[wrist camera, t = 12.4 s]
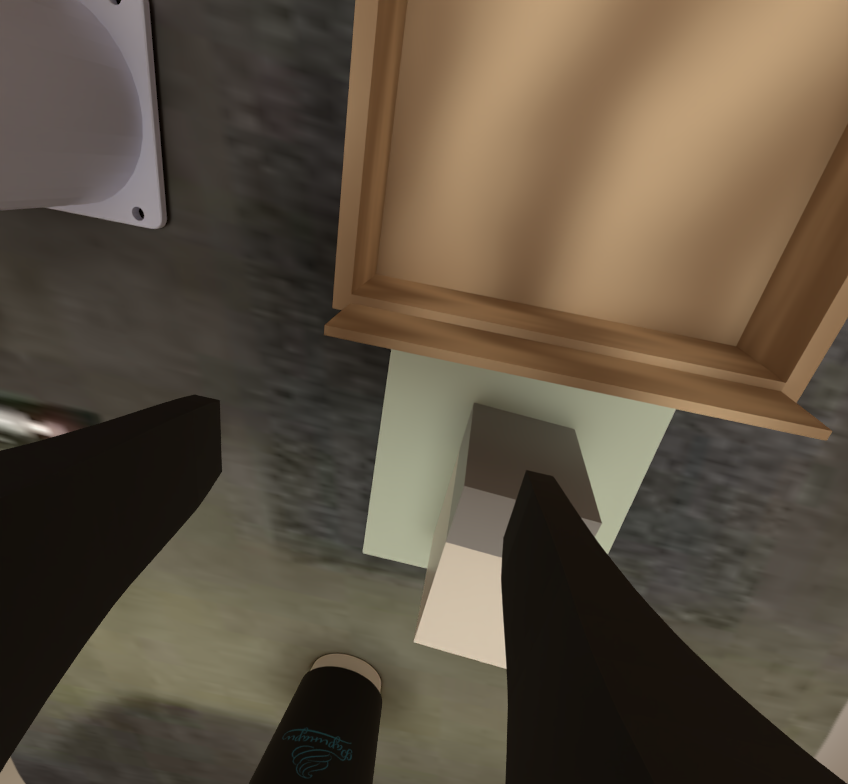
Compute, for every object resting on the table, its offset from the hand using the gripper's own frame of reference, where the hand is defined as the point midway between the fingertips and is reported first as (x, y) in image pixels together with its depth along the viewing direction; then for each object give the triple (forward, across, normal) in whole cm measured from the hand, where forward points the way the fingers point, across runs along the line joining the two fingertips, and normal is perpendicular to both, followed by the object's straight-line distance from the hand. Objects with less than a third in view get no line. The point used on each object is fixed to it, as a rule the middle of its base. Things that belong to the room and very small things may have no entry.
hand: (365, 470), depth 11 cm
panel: (+10, -5, +7) cm, 13 cm away
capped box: (+10, -5, +6) cm, 12 cm away
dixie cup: (+10, +1, +25) cm, 27 cm away
